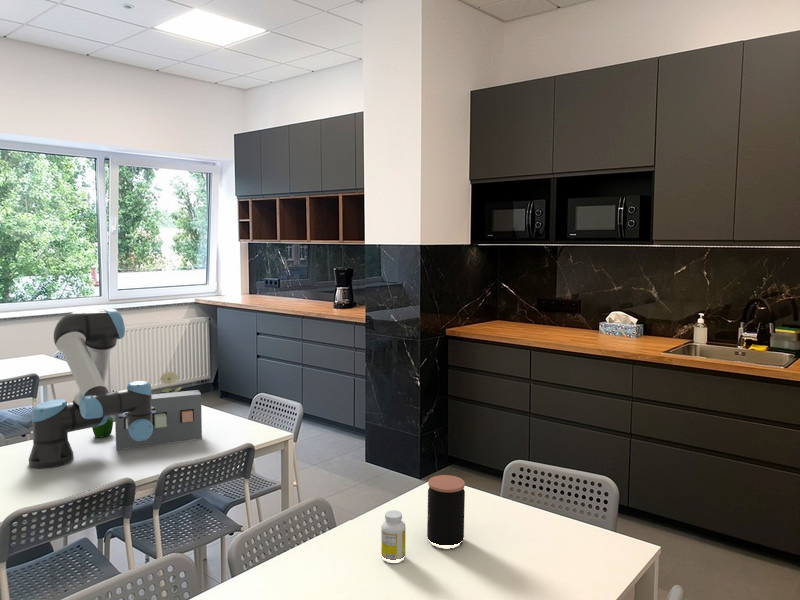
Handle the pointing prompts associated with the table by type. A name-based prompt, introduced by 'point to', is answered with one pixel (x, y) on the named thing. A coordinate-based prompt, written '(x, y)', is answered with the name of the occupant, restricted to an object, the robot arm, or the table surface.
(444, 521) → the coffee jar
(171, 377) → the flower in vase
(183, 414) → the terracotta key
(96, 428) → the bell pepper
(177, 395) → the keypad panel
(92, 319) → the robot arm
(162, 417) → the sage key
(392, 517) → the supplement bottle
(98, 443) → the table surface
